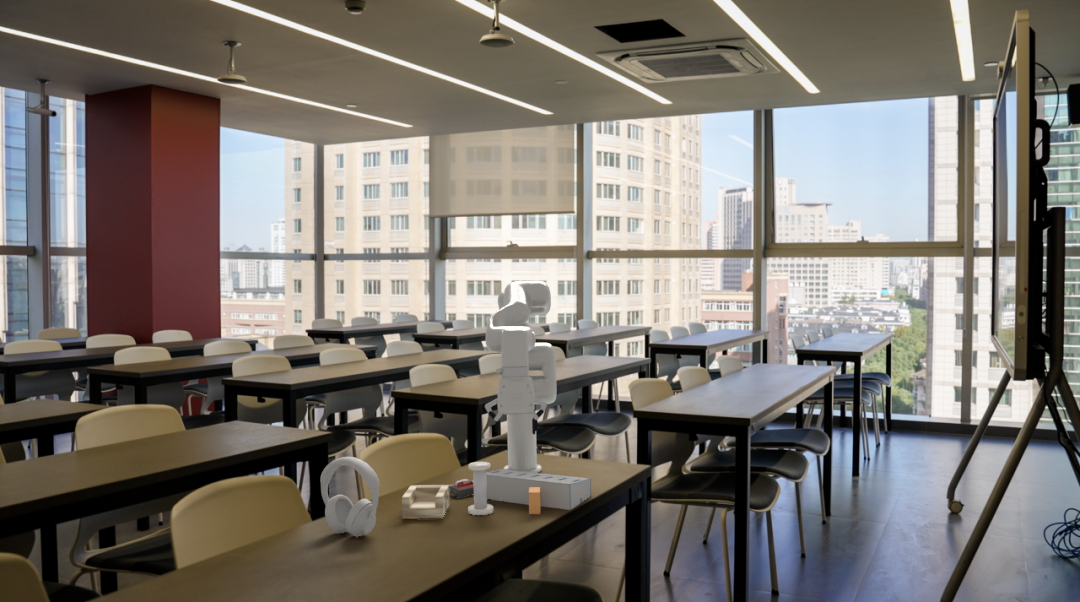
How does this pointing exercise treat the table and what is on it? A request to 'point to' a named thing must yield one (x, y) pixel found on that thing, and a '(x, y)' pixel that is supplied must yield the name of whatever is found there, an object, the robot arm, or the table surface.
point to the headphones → (341, 508)
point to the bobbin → (480, 489)
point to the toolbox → (461, 488)
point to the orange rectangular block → (534, 500)
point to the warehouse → (552, 487)
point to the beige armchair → (426, 501)
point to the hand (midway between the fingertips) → (516, 434)
